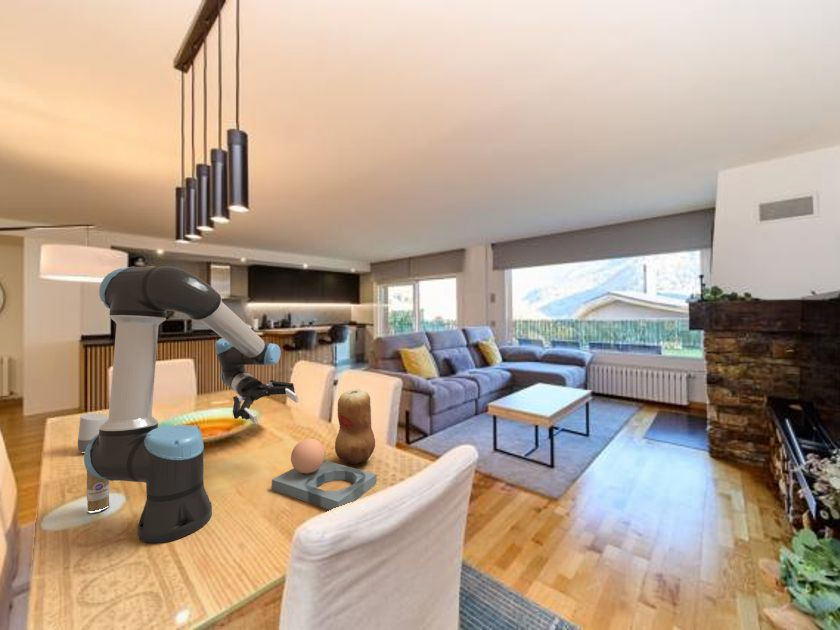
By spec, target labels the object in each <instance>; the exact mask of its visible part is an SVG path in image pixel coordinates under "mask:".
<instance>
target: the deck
mask: <svg viewBox="0 0 840 630" xmlns="http://www.w3.org/2000/svg"><path fill="white" fill-rule="evenodd" d="M377 480H378V479H377V473H373V472H369V471H366V470H361V469H359V468H355V467H351V466H348V465H344V464H339V463H337V462H332V461H328V460H325V459H324V462H323V464H322V465H321V466H320V468H319V469H317V470H316V471H314V472H312V473H308V474H304V473H300V472H298V471H297V470H296V469H295V468H294V467H293V468H291V469H289V470H288V471H286V472H283V473H281V474H280V475H278V476H276V477H274V478H271V490H272V491H276V492H278V493H281V494H284V495H285V496H289V497H292V498H295V499H298V500H301V501H303V502H306V503H309V504H312V505H314V506H317V507H320V508H322V509H326V510H328V511H331V509H333V508H336V507H339V506H342V505H345V504H347V503H350V502H352V503H354V502H355V501H356V500H357V499H359V498H360V497H362V496H363V495H364V494H366V493H367V492H368V491H370V490H371V489H372V488H374V487H375V486H376V485H377V484H376V483H377V482H378V481H377ZM333 481H348V482H351V483H352V484H351V485H349V486H348V487H345V488H342V489H337V490H323V489H321V488H319V487H320V486H322V485H324V484H325V483H331V482H333ZM375 484H376V485H375ZM374 485H375V486H374ZM371 487H372V488H371ZM370 488H371V489H370ZM353 501H354V502H353Z"/></svg>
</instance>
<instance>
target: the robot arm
mask: <svg viewBox="0 0 840 630" xmlns="http://www.w3.org/2000/svg"><path fill="white" fill-rule="evenodd" d="M98 292H99V293H98V294H99V298H100V301H101V302H103V305H104V306H105V307H106V308H107V309H108V310H109V316H108V317H109V318H110V319H111V320H112V321H113V322H114V323H115V324H116V329H115V341H114V351H113V363H112V374H111V387H110V397H109V406H108V407H109V408H108V409H109V410H108V420H107V421H106V422H105V423H104V424H103V425H102V426H100V428H99V434H98V435H96V436H95V437H94V438H93V439H92V442H91V443H90V444H88V445H87V447H86V450H85V453H84V455H83V463H84V464H83V465H84V466H85V470H86V469H87V471H88V472H89V473H90V474H91V475H93V476H95V477H97V478H102V479H105V480H109V482H110V481H111V482H113V481H120V482H135V483H145V488H146V489H145V490H146V500H145V504H144V507H143V509H142V513H141V515H140V518H139V521H138V524H137V538H138V537H139V538H138V540H139V541H141V540H142V541H141V542H143V541H144V542H143V543H146V542H150V543H149V544H161V542H162V543H166V542H171V541H176V540H178V539H181V538H183V537H187V536H188V535H191V534H192V533H195V532H196V531H198V530H199V529H201V528H202V527H204V526H205V525H206V524H207V523H208V522H210V520H211V518H212V516H213V505H212V502H211V501H210V498H209V495H208V492H207V491H206V489H205V484H204V449H205V448H204V441H203V435H202V431H201V429H200V430H199V429H197V428H196V427H193V426H192V425H188V424H176V425H172V424H169V425H164V426H159V421H158V419H156V418H155V417H154V416H153V415H152V414H153V413H152V412H153V402H154V390H155V388H154V387H155V386H154V385H155V376H156V374H155V373H156V364H157V349H158V337H159V326H160V325H161V324H162V323H163V322H165V321H166V320H167V312H175V313H181V314H184V315H186V316H188V317H189V318H190V319H192V320H194V321H199V322H202V323H203V324H204V325H205V326H206V327H208V328H209V329H211V330H212V331H213V332H214V333H216V334H217V335H218V336H219V337H220V338H219V339H218V340H217V341H216V342H215V343H214V348H215V353H216V355H217V356H216V357H217V359H218V362H219V365H220V368H221V371H220V375H219V376H220V379H221V381H222V382H223V384H225V385H226V386H227V387H229V388H230V390H232V391H234V392H235V393H236V394H238V396H237V395H235V396H233V397H232V399H233V407H232V415H233V418H234V420H238V419H239V418H240V417H241V419H242V420H243V419H244V420H250V421H251V422H252V423H253V424H254V425H257V424H258V418H257V415H256V414H255V413H253V411H251V410H250V407H251V405H253V404H254V401H257V400H259V399H261V398H264V397H270V396H273V395H286V397H287V398H289V399H290V400H292V401H293V402H295V403H299V397H298V394H297V393H296V392H295V384H294V383H292V382H285V381H284V382H283V381H276V380H273V379H271V380H269V383H267V384H265V383H263V382H262V381H261V380H259V379H258V378H256V377H255V376H253V375H252V374H250V373H249V372H248V371H247V369H246V365H247V366H252V365H253V366H265V367H266V366H274V365H277V364H278V363H279V361H280V359H281V355H282V353H281V352H282V351H281V348H280V346H279V345H278V344H277V343H267V342H266V341H265V340H264V339H263V338H261V337H260V335H259V334H257V333H256V332H255V331H254V330H253V329H252V328H251V327H250V326H249V325H248V324H247V323H245V322H244V321H243V320H242V319H241V318H240V317H239V316H238V315H237V314H236V313H235V312H234V311H232V309H230V307H228V305H226V304H225V303H224V302H223V300H222V296H221V294H220V293H219V292H218V291H217V290H216V289H215V288H214V287H212V286H211V285H210V284H208V283H207V282H206V281H204V280H203V279H201V278H200V277H198V276H197V275H195V274H193V273H191V272H189V271H188V270H184V269H182V268H179V267H175V266H165V265H164V266H130V267H129V266H128V267H123V268H117V269H115V270H112V271H111V272H110V273H107V275H106V276H104V278H103V279H102V281H101V283H100V286H99V291H98ZM242 401H243V403H242ZM158 426H159V427H158ZM87 471H86V472H87Z"/></svg>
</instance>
